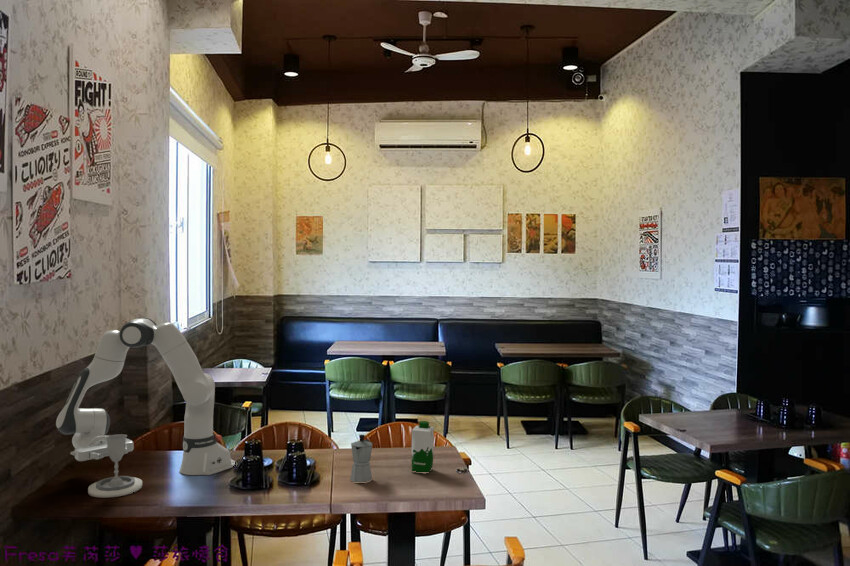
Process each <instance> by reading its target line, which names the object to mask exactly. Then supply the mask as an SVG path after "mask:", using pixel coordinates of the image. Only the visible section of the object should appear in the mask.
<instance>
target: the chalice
mask: <svg viewBox="0 0 850 566" xmlns="http://www.w3.org/2000/svg"><path fill="white" fill-rule="evenodd" d="M127 437H128V434H124V433H121V434H120V433H118V434H117V433H116V434H110V435H108V436H107V437H106V439H107V452H108V454H109V456H108V457H109V459H110V460H111V462H114V466H113V467H114V471H113V473H114V476H113V477H114V478H112V479H111V481H110V484H109V487H111V486H120V485H123V484H124V483H123V481H122V479H121V478H119V477H118V476H119V461H121V460H122V459H123V456H124V455H125V454H124V452H125V449H126V438H127Z"/></svg>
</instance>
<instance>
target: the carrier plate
mask: <svg viewBox="0 0 850 566" xmlns="http://www.w3.org/2000/svg"><path fill="white" fill-rule="evenodd" d="M114 477H115V476H110V477H106V478H104V479H99V480H98V481H95V482H94V483H92V484H90V485H89V486H88V488H87V493H88V495H89V496H91V497H94V498H102V499H104V498H106V499H107V498H109V499H110V498H117V497H121V496H127V495H131V494H134V493H136V492H138V491H140V490H141V489H142V488H143V480H142V478H141V479H140V478H138V477H134V476H129V475H118V477H119V478H121V479H122V481H123V483H124V484H123V485H120V486H111V487H109V484H110V481H111V479H112V478H114ZM133 492H134V493H133Z"/></svg>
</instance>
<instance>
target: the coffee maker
mask: <svg viewBox="0 0 850 566" xmlns="http://www.w3.org/2000/svg"><path fill="white" fill-rule="evenodd" d="M365 436H366V434H359V436H358V437H359V440H357V441H354V442H351V444H350V445H351V447H350V448H351V455H352V456H351V457H352V461H353V463H352V465H351V466H352V467H351V473H350V478H349V479H350V480H352V481H353V482H367V481H370V480H371V479H372V480H373V477H372V469H371V463H370V461H371V457H372V450H373V442H372V441H370V439H367V438H366V439H365ZM350 480H349V481H350ZM372 480H371V481H372ZM353 482H352V483H353Z"/></svg>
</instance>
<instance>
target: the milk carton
mask: <svg viewBox="0 0 850 566" xmlns="http://www.w3.org/2000/svg"><path fill="white" fill-rule="evenodd" d="M429 423H430V422H429V421H428V420H426V421H425V420H420V421H419V423H418V424H419V425H415V426H414V427H413V428H412V430H411V472H412V471H416V472H429V471H430V470H431V468H432V469H433V465H434V444H435V443H434V440H435V439H434V438H435V437H434V433H435V432H434V429H435V427H434V426H431V425H429ZM431 471H432V470H431ZM431 471H430V472H431Z"/></svg>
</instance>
